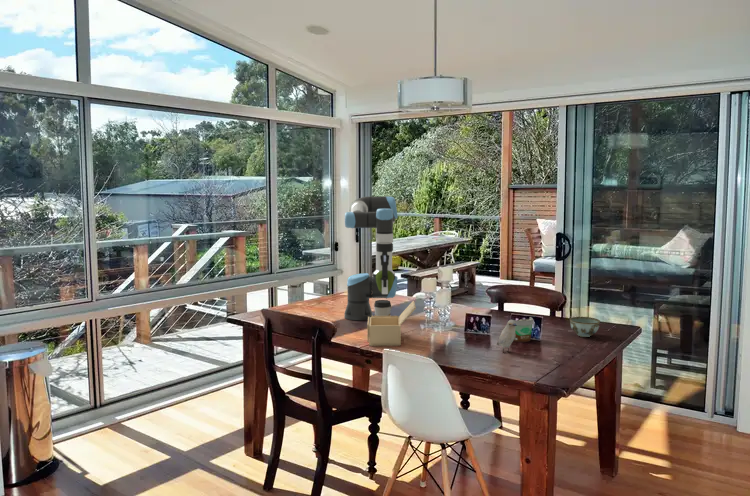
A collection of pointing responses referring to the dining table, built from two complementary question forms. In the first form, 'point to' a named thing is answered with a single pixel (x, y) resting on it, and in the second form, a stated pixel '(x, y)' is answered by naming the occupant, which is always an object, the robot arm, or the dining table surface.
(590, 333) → the bowl
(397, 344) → the carton
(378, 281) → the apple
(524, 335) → the food container
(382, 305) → the coffee cup
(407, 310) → the flap
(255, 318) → the dining table surface
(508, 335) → the bird
